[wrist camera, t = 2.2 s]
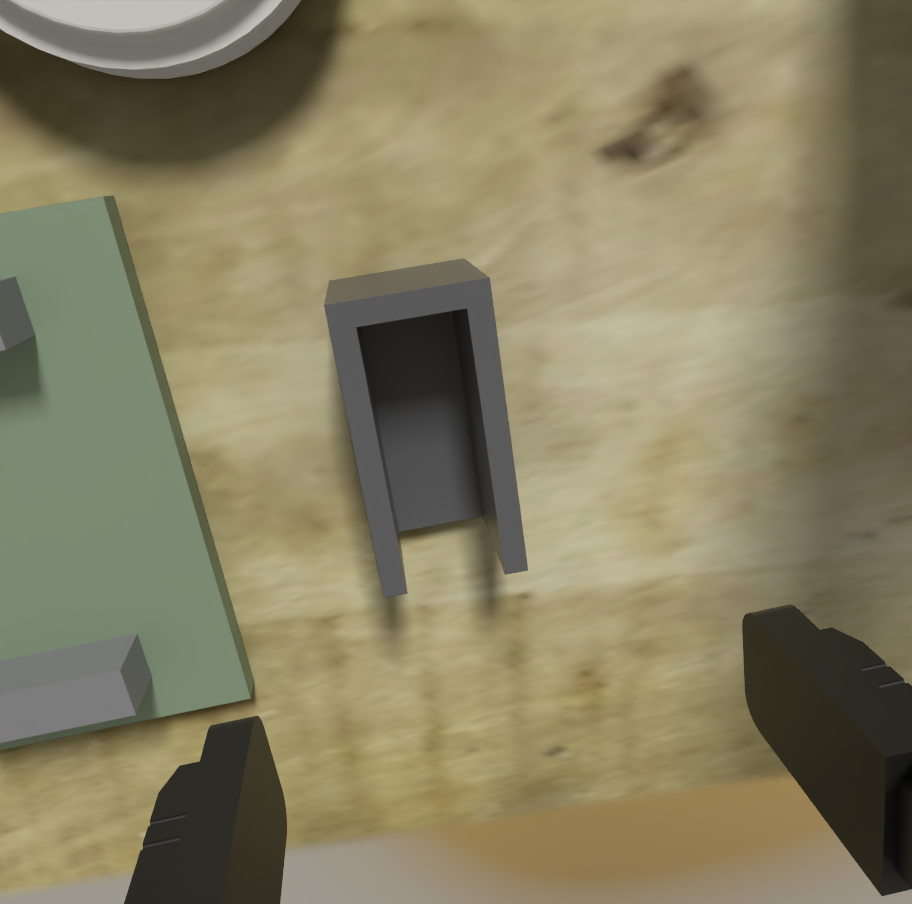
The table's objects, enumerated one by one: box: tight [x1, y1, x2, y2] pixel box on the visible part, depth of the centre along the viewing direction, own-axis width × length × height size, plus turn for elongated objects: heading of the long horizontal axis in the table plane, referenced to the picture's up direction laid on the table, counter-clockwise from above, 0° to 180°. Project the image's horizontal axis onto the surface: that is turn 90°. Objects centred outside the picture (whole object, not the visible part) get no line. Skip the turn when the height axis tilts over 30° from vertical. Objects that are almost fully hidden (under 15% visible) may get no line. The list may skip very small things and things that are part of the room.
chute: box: [324, 259, 528, 598], centre depth 28 cm, size 10×5×6 cm, turn 8°
